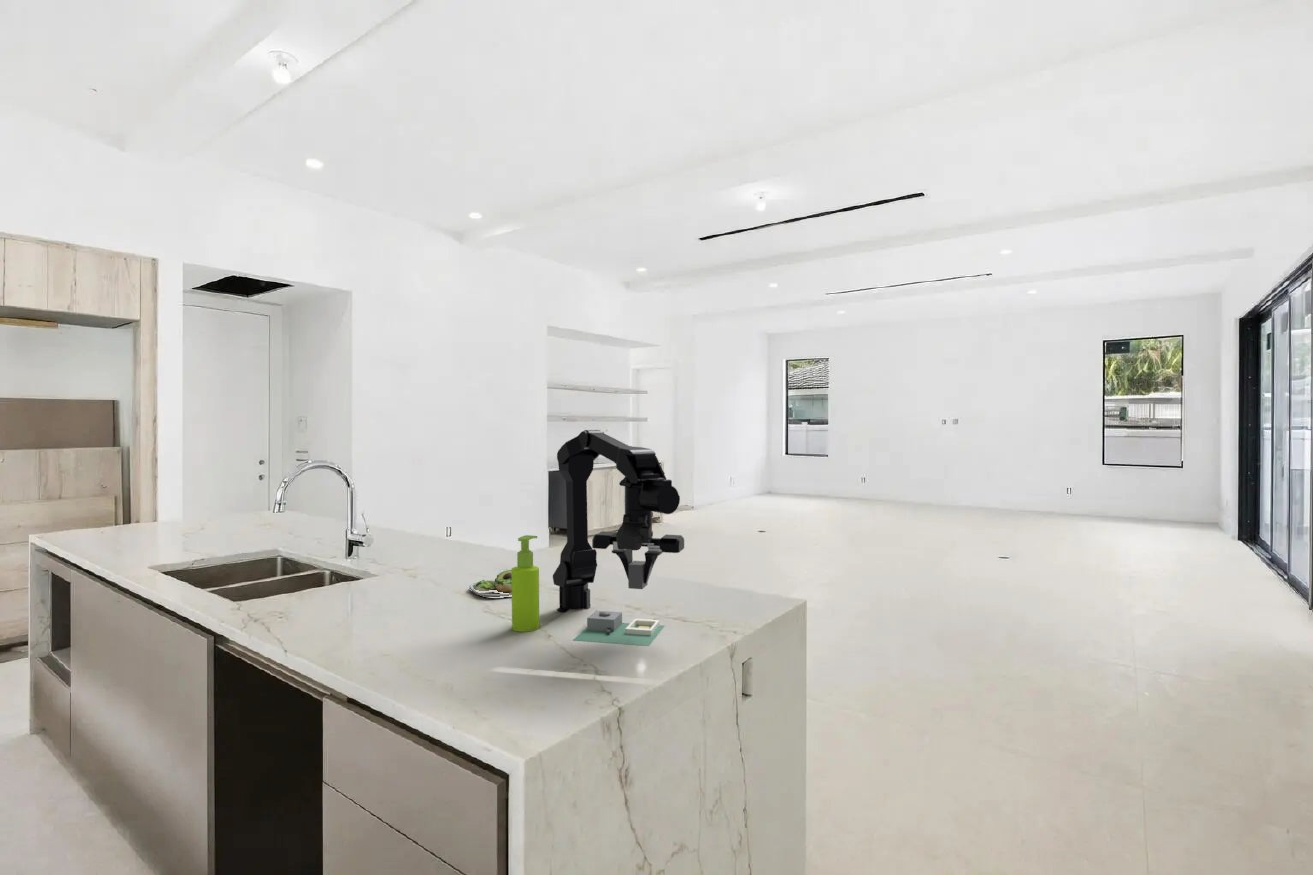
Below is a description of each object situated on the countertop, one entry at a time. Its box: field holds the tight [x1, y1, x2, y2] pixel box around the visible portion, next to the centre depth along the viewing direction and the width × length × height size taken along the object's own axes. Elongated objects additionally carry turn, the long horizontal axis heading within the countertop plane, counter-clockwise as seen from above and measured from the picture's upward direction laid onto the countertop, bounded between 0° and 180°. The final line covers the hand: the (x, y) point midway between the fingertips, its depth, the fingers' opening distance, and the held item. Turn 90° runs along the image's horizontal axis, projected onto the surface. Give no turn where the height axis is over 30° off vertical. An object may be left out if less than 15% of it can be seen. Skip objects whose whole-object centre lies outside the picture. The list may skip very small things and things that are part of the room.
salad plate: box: [469, 569, 512, 597], centre depth 186 cm, size 19×18×5 cm
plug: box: [627, 560, 649, 590], centre depth 147 cm, size 3×5×5 cm, turn 165°
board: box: [572, 610, 665, 647], centre depth 146 cm, size 16×14×4 cm
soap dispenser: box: [511, 534, 540, 632], centre depth 153 cm, size 6×7×20 cm
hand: (638, 582), depth 147 cm, fingers closed on plug, 3 cm apart
